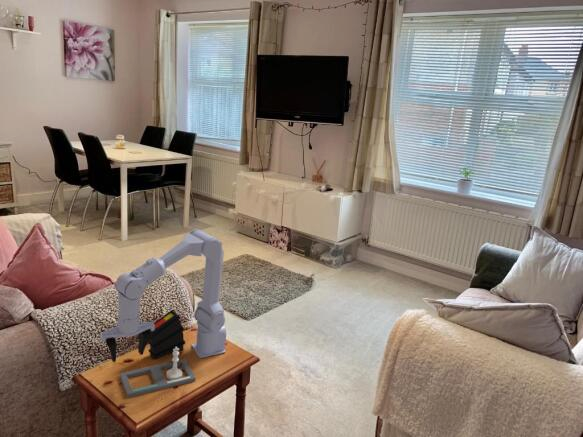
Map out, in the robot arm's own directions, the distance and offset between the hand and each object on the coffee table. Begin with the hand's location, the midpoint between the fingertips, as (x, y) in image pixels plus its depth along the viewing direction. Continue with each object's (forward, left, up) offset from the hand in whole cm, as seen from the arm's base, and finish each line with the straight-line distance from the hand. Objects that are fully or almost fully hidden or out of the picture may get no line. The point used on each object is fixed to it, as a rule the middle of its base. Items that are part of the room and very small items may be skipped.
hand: (127, 356), depth 125 cm
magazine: (-14, -11, -10) cm, 20 cm away
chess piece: (-14, +1, -10) cm, 17 cm away
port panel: (-9, +1, -10) cm, 13 cm away
